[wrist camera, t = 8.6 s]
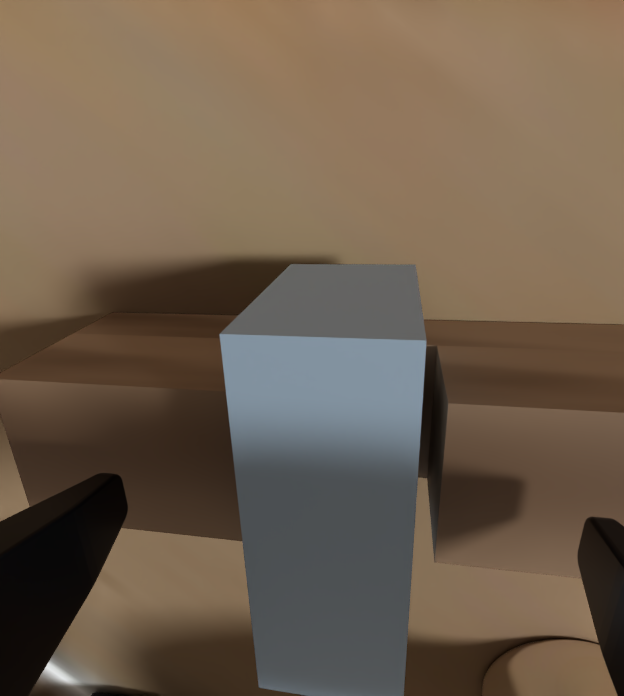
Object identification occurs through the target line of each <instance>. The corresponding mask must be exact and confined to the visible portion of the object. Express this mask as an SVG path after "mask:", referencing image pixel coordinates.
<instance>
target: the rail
mask: <svg viewBox="0 0 624 696" xmlns="http://www.w3.org/2000/svg"><path fill="white" fill-rule="evenodd" d="M237 316H238V315H201V314H160V313H120V312H112V313H110V314H108V315H106V316H105V317H103V318H101V319H99V320H97V321H95V322H93V323H92V324H90V325H88V326H86V327H84V328H82V329H80V330H79V331H77V332H75V333H73V334H71V335H69V336H67V337H66V338H64V339H62V340H60V341H58V342H56V343H54V344H53V345H51V346H49V347H47V348H45V349H43V350H41V351H40V352H38V353H36V354H34V355H32V356H30V357H28V358H27V359H25V360H23V361H21V362H19V363H17V364H15V365H14V366H12V367H10V368H8V369H6V370H4V371H2V372H1V373H0V415H1V418H2V421H3V424H4V427H5V430H6V434H7V437H8V440H9V443H10V446H11V449H12V452H13V456H14V459H15V462H16V465H17V468H18V471H19V474H20V478H21V481H22V484H23V487H24V490H25V493H26V496H27V500H28V503H29V506H30V507H31V506H33V505H35V504H37V503H39V502H41V501H43V500H45V499H47V498H49V497H51V496H54V495H56V494H58V493H60V492H62V491H64V490H66V489H68V488H70V487H72V486H74V485H76V484H78V483H80V482H82V481H84V480H86V479H88V478H90V477H92V476H94V475H96V474H99V473H112V474H118V475H120V477H121V478H122V481H123V485H124V490H125V494H126V499H127V503H128V512H127V516H126V519H125V521H124V523H123V525H122V527H121V528H127V529H137V530H146V531H155V532H164V533H173V534H182V535H191V536H200V537H209V538H218V539H227V540H236V541H242V532H241V523H240V514H239V505H238V496H237V487H236V478H235V469H234V460H233V451H232V442H231V433H230V424H229V415H228V406H227V397H226V388H225V379H224V370H223V361H222V352H221V343H220V333H221V332H222V331H223V330H224V329H225V328H226V327H227V326H228V325H229V324H230V323H231V322H232V321H233V320H234V319H235V318H236V317H237ZM424 327H425V333H426V340H427V341H426V357H425V372H424V388H423V404H422V419H421V435H420V450H419V466H418V477H421V478H427V480H428V492H429V503H430V515H431V527H432V538H433V550H434V562H436V563H445V564H454V565H463V566H472V567H481V568H490V569H499V570H509V571H518V572H527V573H536V574H545V575H554V576H563V577H572V578H581V579H582V577H581V574H580V570H579V566H578V559H577V553H578V548H579V544H580V539H581V535H582V531H583V527H584V523H585V520H586V519H587V518H588V517H592V516H593V517H604V518H612V519H614V520H616V521H618V522H619V523H620V524H622V525H623V526H624V325H608V324H567V323H526V322H486V321H445V320H424Z"/></svg>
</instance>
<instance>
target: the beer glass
mask: <svg viewBox="0 0 624 696" xmlns="http://www.w3.org/2000/svg"><path fill="white" fill-rule="evenodd" d="M482 696H617V693H616V690H615V688H614V685H613V683H612V680H611V677H610V675H609V672H608V669H607V666H606V664H605V661H604V658H603V655H602V652H601V648H600V645H598V644H595V643H591V642H586V641H580V640H572V639H549V640H541V641H535V642H531V643H527V644H524V645H521V646H518V647H516V648H514V649H512V650H510V651H508V652H506V653H505V654H503V655H502V656H500V657H499V658H498V659H497V660H496V661H495V662H494V663H493V664H492V665H491V666H490V667H489V669H488V670H487V672H486V674H485V677H484V680H483V685H482Z"/></svg>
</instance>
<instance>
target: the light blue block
mask: <svg viewBox="0 0 624 696" xmlns="http://www.w3.org/2000/svg"><path fill="white" fill-rule="evenodd" d="M426 341H427V340H426V333H425V327H424V320H423V313H422V306H421V299H420V292H419V285H418V279H417V272H416V265H373V264H290V265H289V266H288V267H287V268H286V269H285V270H284V271H283V272H282V273H281V274H280V275H279V276H278V277H277V278H276V279H275V280H274V281H273V282H272V283H271V284H270V285H269V286H268V287H267V288H266V289H265V290H264V291H263V292H262V293H261V294H260V295H259V296H258V297H257V298H256V299H255V300H254V301H253V302H252V303H251V304H250V305H249V306H248V307H247V308H246V309H245V310H243V311H242V312H241V313H240V314H239V315H238V316H237V317H236V318H235V319H234V320H233V321H232V322H231V323H230V324H229V325H228V326H227V327H226V328H225V329H224V330H223V331H222V332H221V333H220V343H221V352H222V361H223V370H224V379H225V388H226V397H227V406H228V415H229V424H230V433H231V442H232V451H233V460H234V469H235V478H236V487H237V496H238V505H239V514H240V523H241V532H242V541H243V550H244V559H245V568H246V577H247V586H248V595H249V604H250V613H251V622H252V631H253V640H254V649H255V658H256V667H257V676H258V684H259V688H263V689H269V690H275V691H282V692H288V693H294V694H300V695H306V696H404V683H405V668H406V652H407V636H408V621H409V605H410V590H411V574H412V559H413V543H414V528H415V512H416V497H417V481H418V466H419V450H420V435H421V419H422V404H423V388H424V372H425V357H426Z"/></svg>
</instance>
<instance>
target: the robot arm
mask: <svg viewBox="0 0 624 696" xmlns="http://www.w3.org/2000/svg"><path fill="white" fill-rule="evenodd" d="M127 512H128V503H127V499H126V494H125V490H124V485H123V481H122V478H121V477H120V475H118V474H112V473H99V474H96V475H94V476H92V477H90V478H88V479H86V480H84V481H82V482H80V483H78V484H76V485H74V486H72V487H70V488H68V489H66V490H64V491H62V492H60V493H58V494H56V495H54V496H51V497H49V498H47V499H45V500H43V501H41V502H39V503H37V504H35V505H33V506H31V507H29V508H27V509H25V510H23V511H21V512H19V513H17V514H15V515H13V516H11V517H9V518H7V519H5V520H3V521H1V522H0V696H28V695H29V694H30V692H31V690H32V689H33V687H34V685H35V684H36V682H37V680H38V679H39V677H40V675H41V674H42V672H43V670H44V668H45V667H46V665H47V663H48V662H49V660H50V658H51V657H52V655H53V653H54V652H55V650H56V648H57V647H58V645H59V643H60V642H61V640H62V638H63V637H64V635H65V633H66V632H67V630H68V628H69V626H70V625H71V623H72V621H73V620H74V618H75V616H76V615H77V613H78V611H79V610H80V608H81V606H82V605H83V603H84V601H85V600H86V598H87V596H88V594H89V593H90V591H91V589H92V587H93V585H94V584H95V582H96V580H97V578H98V576H99V574H100V572H101V569H102V567H103V565H104V563H105V561H106V559H107V557H108V555H109V553H110V550H111V548H112V546H113V544H114V542H115V540H116V538H117V536H118V534H119V531H120V529H121V527H122V525H123V523H124V521H125V519H126V516H127ZM577 559H578V566H579V570H580V574H581V577H582V581H583V585H584V589H585V593H586V596H587V600H588V604H589V608H590V611H591V615H592V619H593V623H594V627H595V630H596V634H597V638H598V641H599V645H600V648H601V652H602V655H603V658H604V661H605V664H606V666H607V669H608V672H609V675H610V677H611V680H612V683H613V685H614V688H615V690H616V693H617V696H624V526H623V525H622V524H620V523H619V522H618V521H616V520H614V519H612V518H604V517H593V516H592V517H588V518H587V519H586V520H585V523H584V527H583V531H582V535H581V539H580V544H579V548H578V553H577ZM91 696H114V695H109V694H103V693H92V695H91Z"/></svg>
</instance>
